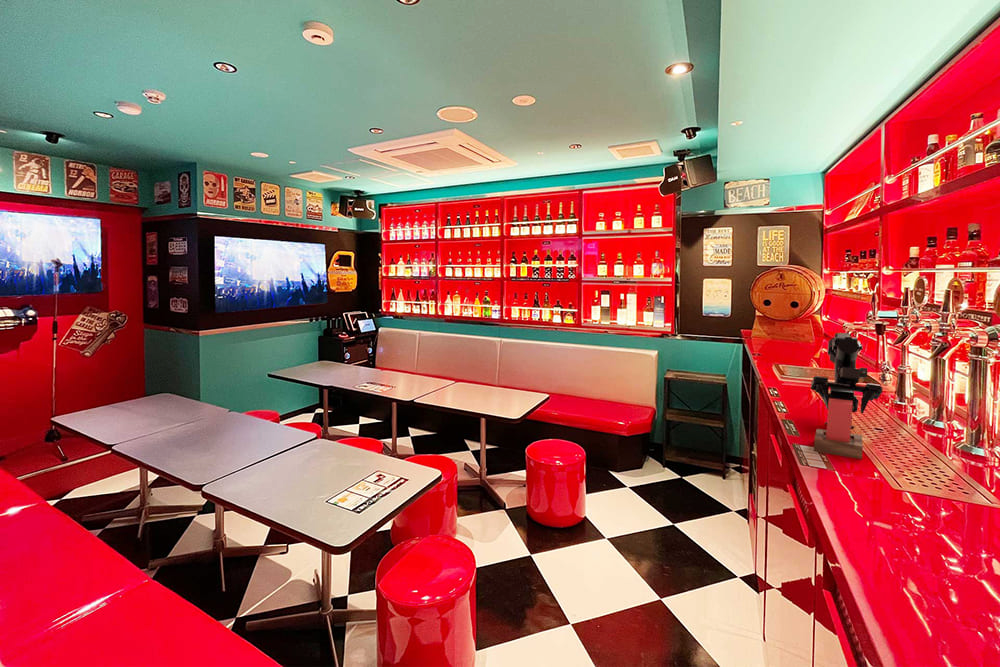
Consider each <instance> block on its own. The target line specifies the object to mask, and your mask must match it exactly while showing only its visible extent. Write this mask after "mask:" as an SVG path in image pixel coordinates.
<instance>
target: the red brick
mask: <svg viewBox="0 0 1000 667" xmlns="http://www.w3.org/2000/svg"><path fill="white" fill-rule="evenodd" d="M851 419H852V420H853V412H852V401H849V400H840V399H831V398H829V402H828V409H827V420H826V422H827V424H826V430H827V434H826V439H830V440H837V441H843V442H850V434H852V433H851V429H852V428H851V425H852V423H851Z"/></svg>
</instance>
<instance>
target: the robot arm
mask: <svg viewBox="0 0 1000 667" xmlns="http://www.w3.org/2000/svg"><path fill="white" fill-rule="evenodd" d="M862 350H863V345H862V344H861V341H860V340H858V338H857V337H853V336H852V334H851V333H849V332H848V333H847V332H837V333H834V337H833V338H830V339H829V340H828V345H827V356H829V360H830V362H831V363H832V364H833V365H834V382H833V381H829V378H828V377H826V376H821V375H820V376H819V375H815V376H814V377H813V379H812V380H811V383H810V389H811V390H812V391H814V392H815V393H816V394H819V396H820V397H821V398H822V402H824V405H825V406H826V410H828V402H829V398H831V399H840V400H849V401H852V413H856V412H858V405H859V399H858V397H857V395H855V392H857V393H862V397H861V402H860V414H864V412H865V409H866V408H867V406H868V403H869V401H871V402H872V401H874V400H878V399H879V398H880V396H881V395H882V394H883V391H884V390H883V386H882V385H881V384H877V383H872V382H871V383H870V382H867V383H866V384H865V385H864V386H862V385H857V384H858V383H859V382H860V378H861V379H866V378H867V377H868V367H859V368H857V358H858V356H859V352H861V351H862ZM852 422H853V418H852V419H851V429H854V428H855V426H854V425H852ZM824 424H825V425H827V421H825V422H824Z"/></svg>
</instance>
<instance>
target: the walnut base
mask: <svg viewBox="0 0 1000 667" xmlns="http://www.w3.org/2000/svg"><path fill="white" fill-rule="evenodd" d="M826 434H827V429H823V428H822V429H821V428H816V431H815V434H814V442H813V443H814V444H813V452H816V453H822V454H827V455H828V454H829V455H834V456H840V457H846V458H852V459H858V460H862V459H863V448H864V445H863V435H861V434H856V433H855V434H854V433H850V442H843V441H837V440H830V439H826Z"/></svg>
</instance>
